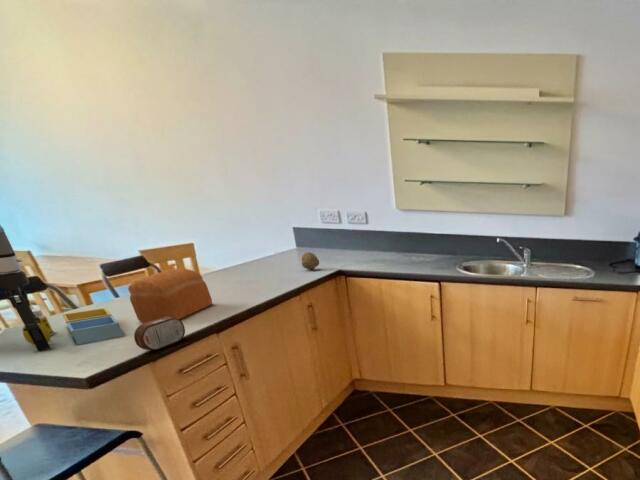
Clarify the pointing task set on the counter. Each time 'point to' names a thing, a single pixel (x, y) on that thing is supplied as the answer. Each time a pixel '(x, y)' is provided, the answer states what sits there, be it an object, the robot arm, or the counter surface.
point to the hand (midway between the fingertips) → (43, 345)
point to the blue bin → (95, 329)
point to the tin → (159, 333)
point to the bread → (169, 295)
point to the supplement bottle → (42, 319)
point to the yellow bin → (86, 315)
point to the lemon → (44, 331)
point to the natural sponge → (309, 261)
